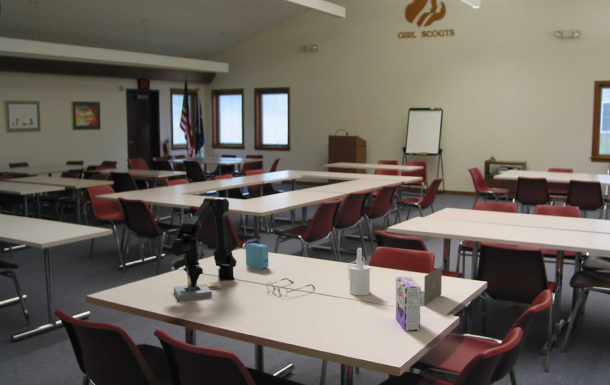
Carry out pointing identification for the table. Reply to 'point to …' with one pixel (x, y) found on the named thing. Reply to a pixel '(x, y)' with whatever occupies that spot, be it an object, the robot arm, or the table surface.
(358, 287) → the white squeeze bottle
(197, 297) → the hole plate
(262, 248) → the data package
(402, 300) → the candy box
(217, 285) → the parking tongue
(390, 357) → the table surface
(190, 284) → the brass peg
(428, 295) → the laptop
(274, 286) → the eyeglasses
